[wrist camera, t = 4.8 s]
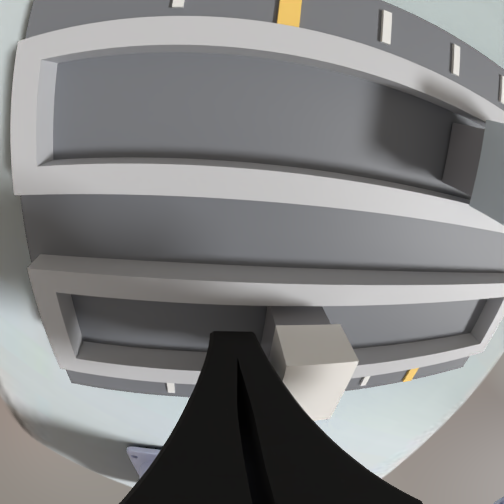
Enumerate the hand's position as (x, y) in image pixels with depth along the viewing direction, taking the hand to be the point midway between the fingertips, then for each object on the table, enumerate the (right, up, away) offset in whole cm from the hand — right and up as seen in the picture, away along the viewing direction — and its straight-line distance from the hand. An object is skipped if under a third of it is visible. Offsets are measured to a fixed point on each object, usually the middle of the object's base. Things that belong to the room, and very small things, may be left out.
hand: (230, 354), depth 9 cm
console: (+4, +4, +2) cm, 6 cm away
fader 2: (+8, +7, -1) cm, 11 cm away
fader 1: (+2, +1, +2) cm, 3 cm away
